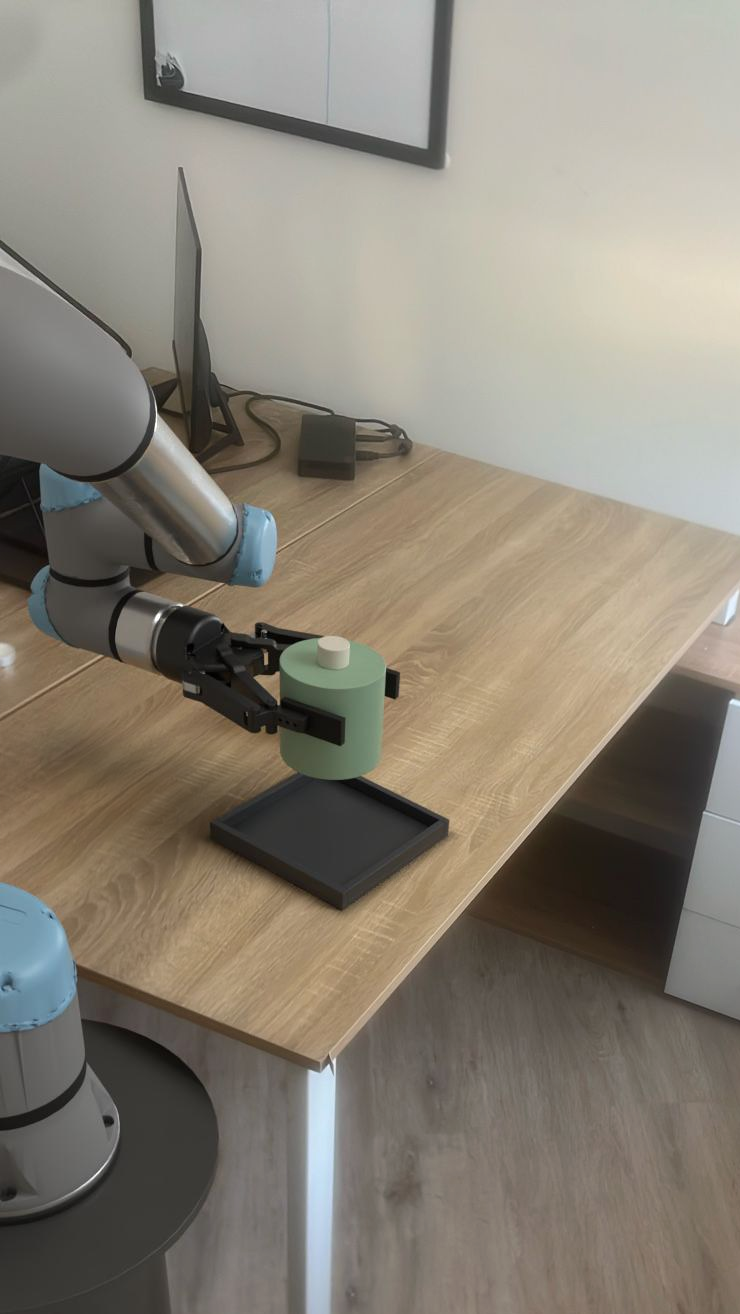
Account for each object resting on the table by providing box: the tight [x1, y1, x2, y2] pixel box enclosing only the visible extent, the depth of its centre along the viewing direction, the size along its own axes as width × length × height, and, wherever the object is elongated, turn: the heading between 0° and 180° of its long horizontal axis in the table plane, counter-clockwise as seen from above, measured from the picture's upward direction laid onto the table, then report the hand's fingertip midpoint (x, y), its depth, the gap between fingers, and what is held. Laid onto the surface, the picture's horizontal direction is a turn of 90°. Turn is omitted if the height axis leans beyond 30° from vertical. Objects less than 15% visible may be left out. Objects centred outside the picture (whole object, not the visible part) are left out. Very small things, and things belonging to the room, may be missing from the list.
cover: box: [279, 635, 387, 780], centre depth 123 cm, size 10×10×12 cm
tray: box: [209, 771, 450, 911], centre depth 134 cm, size 18×18×2 cm
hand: (371, 708), depth 122 cm, fingers closed on cover, 10 cm apart
